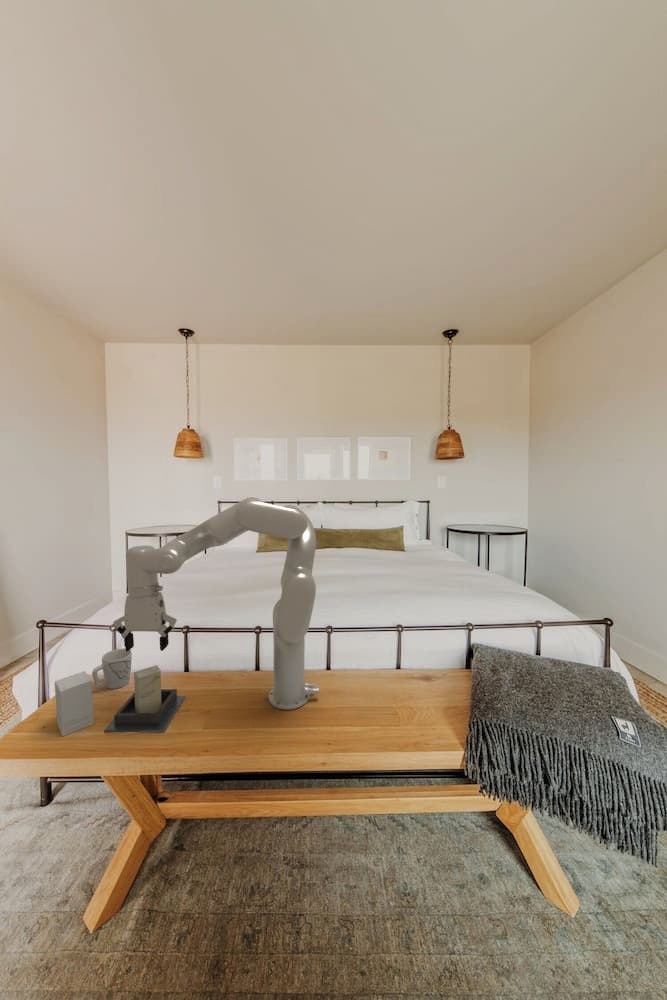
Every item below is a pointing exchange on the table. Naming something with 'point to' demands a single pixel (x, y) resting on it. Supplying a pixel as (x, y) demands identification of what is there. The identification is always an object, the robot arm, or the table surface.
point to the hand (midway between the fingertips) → (146, 648)
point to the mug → (114, 669)
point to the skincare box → (147, 690)
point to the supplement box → (74, 703)
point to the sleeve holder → (146, 715)
